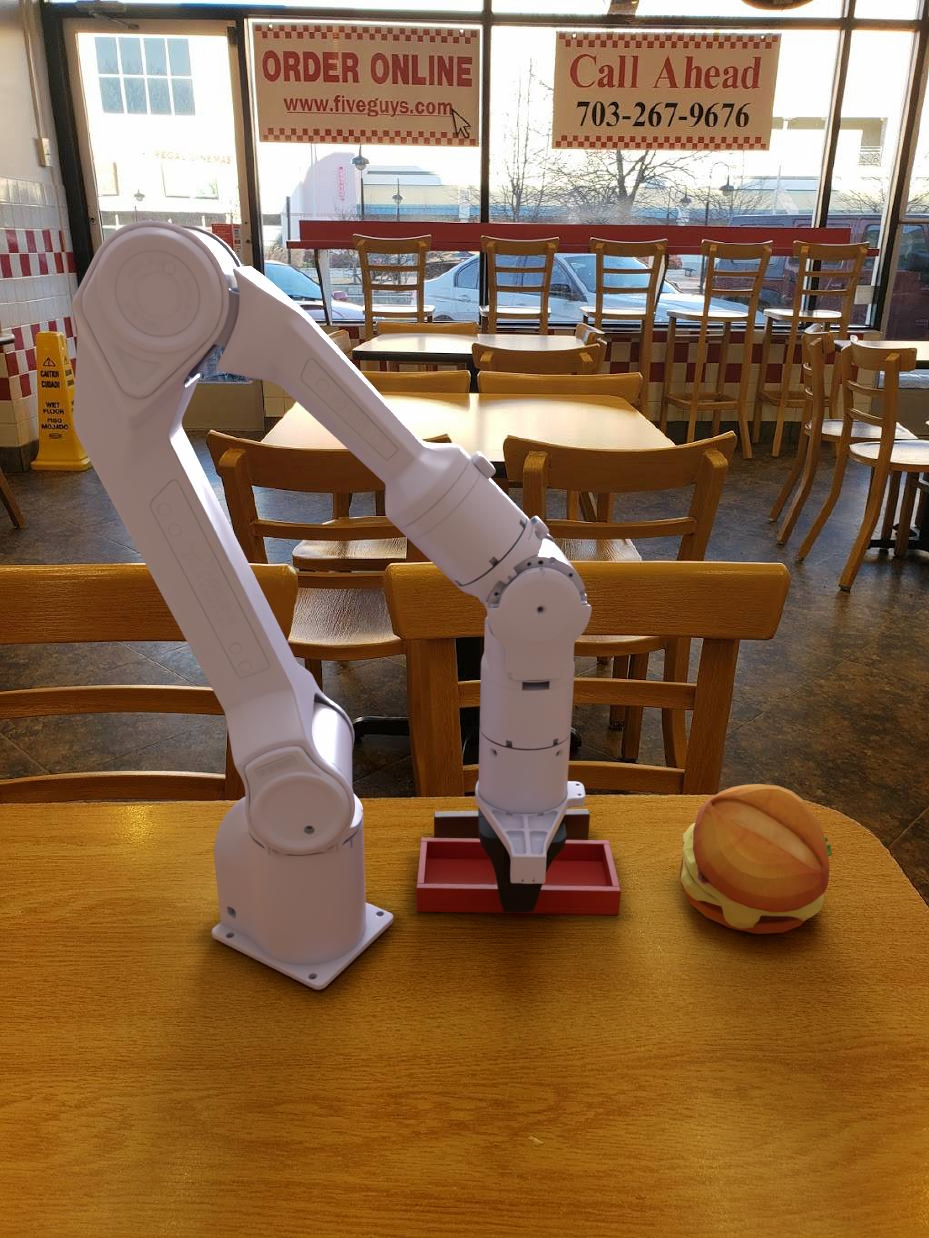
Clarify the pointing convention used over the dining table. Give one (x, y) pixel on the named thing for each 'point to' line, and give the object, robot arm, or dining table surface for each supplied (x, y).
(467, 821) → the back rail
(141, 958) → the dining table surface
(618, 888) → the tray
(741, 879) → the cheeseburger
